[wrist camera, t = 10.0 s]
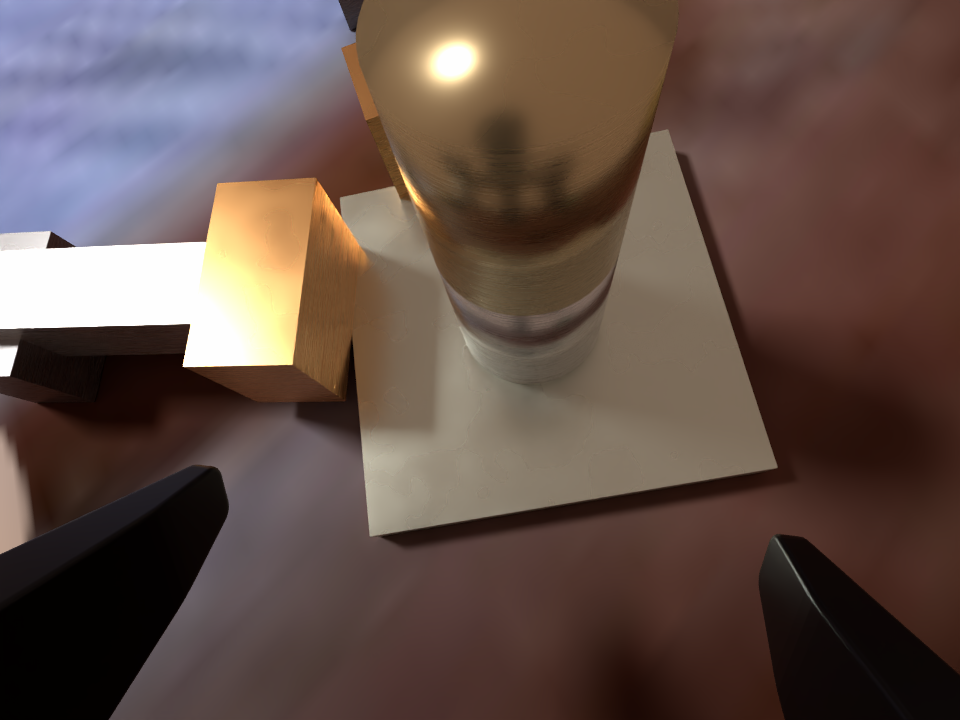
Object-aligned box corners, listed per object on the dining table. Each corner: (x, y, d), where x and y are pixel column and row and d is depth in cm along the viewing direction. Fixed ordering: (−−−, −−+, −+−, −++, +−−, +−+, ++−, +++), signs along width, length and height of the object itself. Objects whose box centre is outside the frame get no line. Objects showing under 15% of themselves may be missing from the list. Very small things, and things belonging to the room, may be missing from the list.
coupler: (508, 410, 17) (455, 209, 7) (437, 300, 19) (305, -3, 8) (629, 335, 18) (750, 36, 7) (550, 232, 19) (556, -139, 9)
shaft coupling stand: (12, 598, 18) (-173, 618, 14) (71, 39, 26) (-34, -71, 22) (765, 471, 17) (848, 445, 12) (589, -82, 25) (599, -229, 20)
